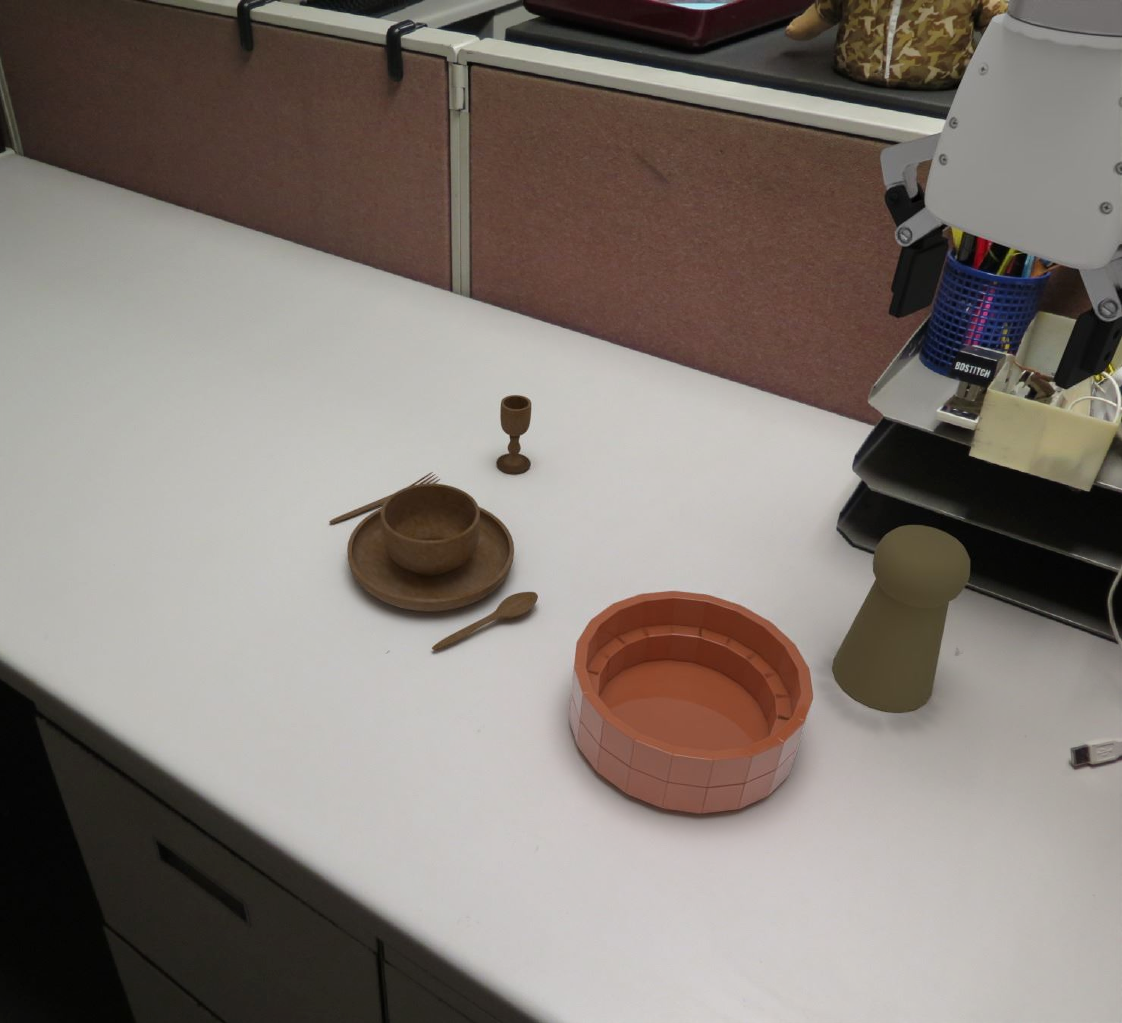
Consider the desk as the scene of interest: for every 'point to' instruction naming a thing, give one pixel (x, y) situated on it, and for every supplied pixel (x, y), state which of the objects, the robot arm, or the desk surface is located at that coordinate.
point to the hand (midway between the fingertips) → (987, 343)
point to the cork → (902, 619)
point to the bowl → (688, 701)
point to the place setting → (441, 542)
